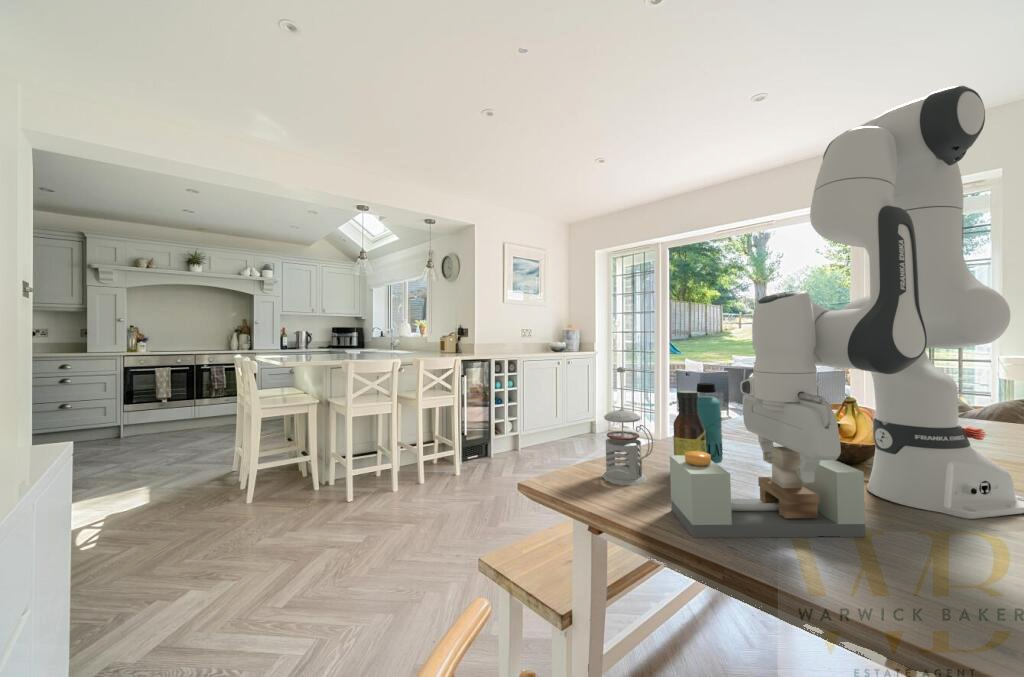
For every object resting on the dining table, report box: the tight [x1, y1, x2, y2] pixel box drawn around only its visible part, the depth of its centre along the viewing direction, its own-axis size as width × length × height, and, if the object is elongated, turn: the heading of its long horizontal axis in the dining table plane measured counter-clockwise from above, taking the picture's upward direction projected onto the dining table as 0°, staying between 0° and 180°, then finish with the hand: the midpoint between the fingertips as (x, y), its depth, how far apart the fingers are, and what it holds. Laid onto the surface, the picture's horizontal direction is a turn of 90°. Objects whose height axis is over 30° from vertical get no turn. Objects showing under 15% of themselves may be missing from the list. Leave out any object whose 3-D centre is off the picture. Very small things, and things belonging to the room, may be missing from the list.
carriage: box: [757, 446, 819, 518], centre depth 68 cm, size 5×8×10 cm, turn 177°
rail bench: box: [669, 454, 867, 539], centre depth 68 cm, size 26×10×10 cm, turn 87°
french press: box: [602, 366, 654, 486], centre depth 91 cm, size 10×12×25 cm
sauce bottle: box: [672, 390, 706, 456], centre depth 86 cm, size 7×6×20 cm
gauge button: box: [685, 451, 711, 466], centre depth 69 cm, size 4×4×6 cm
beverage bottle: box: [696, 382, 724, 464], centre depth 98 cm, size 6×7×20 cm
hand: (786, 471), depth 68 cm, fingers open, 8 cm apart
